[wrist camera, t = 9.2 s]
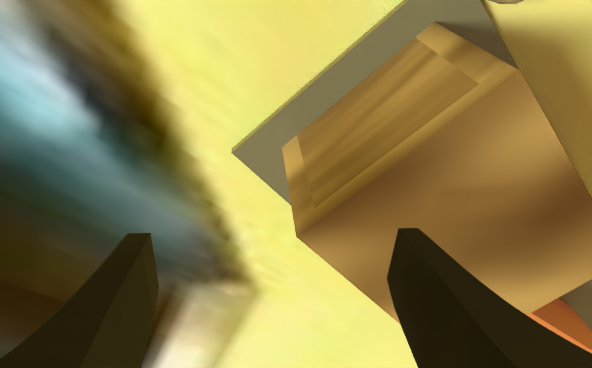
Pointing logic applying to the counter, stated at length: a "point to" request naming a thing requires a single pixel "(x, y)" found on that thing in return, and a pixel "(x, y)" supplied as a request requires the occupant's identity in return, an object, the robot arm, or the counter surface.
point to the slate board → (354, 69)
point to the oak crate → (443, 176)
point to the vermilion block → (564, 323)
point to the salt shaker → (507, 1)
